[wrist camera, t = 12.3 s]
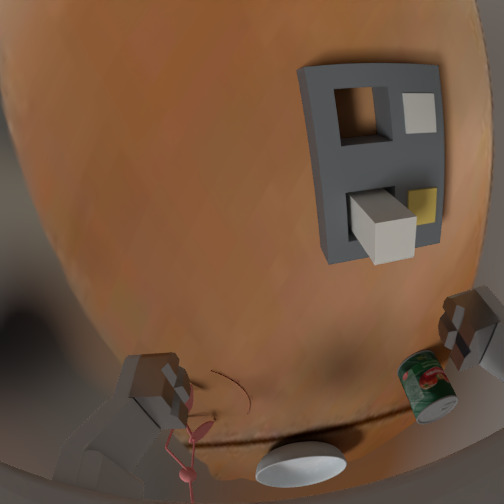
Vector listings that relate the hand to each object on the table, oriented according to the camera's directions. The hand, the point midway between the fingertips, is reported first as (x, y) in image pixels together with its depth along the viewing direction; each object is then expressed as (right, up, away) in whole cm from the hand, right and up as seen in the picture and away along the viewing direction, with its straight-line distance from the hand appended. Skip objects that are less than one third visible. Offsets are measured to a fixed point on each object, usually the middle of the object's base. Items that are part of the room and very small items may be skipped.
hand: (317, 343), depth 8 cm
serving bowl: (+9, -44, +54) cm, 71 cm away
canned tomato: (+28, -18, +40) cm, 52 cm away
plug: (+10, +8, +25) cm, 28 cm away
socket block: (+11, +13, +23) cm, 28 cm away
